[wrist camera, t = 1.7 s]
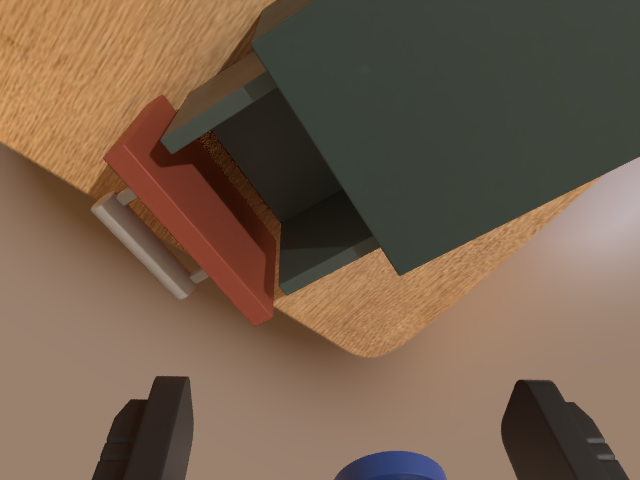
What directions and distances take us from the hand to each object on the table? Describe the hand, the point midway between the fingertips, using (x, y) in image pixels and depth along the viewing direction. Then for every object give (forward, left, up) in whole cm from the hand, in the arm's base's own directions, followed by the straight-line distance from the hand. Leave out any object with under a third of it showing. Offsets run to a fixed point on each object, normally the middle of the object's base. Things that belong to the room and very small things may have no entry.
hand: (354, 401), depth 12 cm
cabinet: (+1, -8, -21) cm, 22 cm away
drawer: (+1, +3, -20) cm, 20 cm away
